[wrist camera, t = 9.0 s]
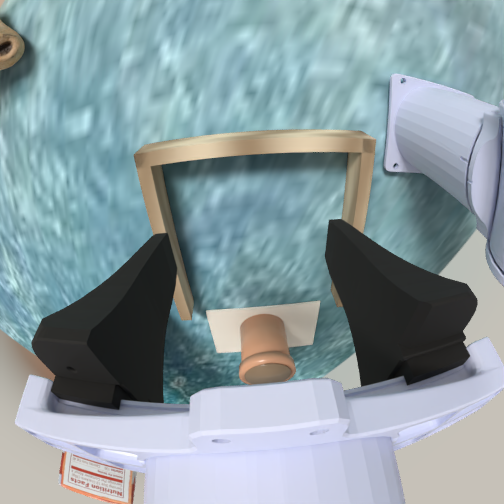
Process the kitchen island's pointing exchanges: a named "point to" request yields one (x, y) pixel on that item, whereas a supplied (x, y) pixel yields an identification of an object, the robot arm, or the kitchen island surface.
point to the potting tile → (293, 315)
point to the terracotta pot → (264, 351)
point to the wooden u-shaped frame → (248, 144)
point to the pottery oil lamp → (9, 46)
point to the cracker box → (97, 479)
